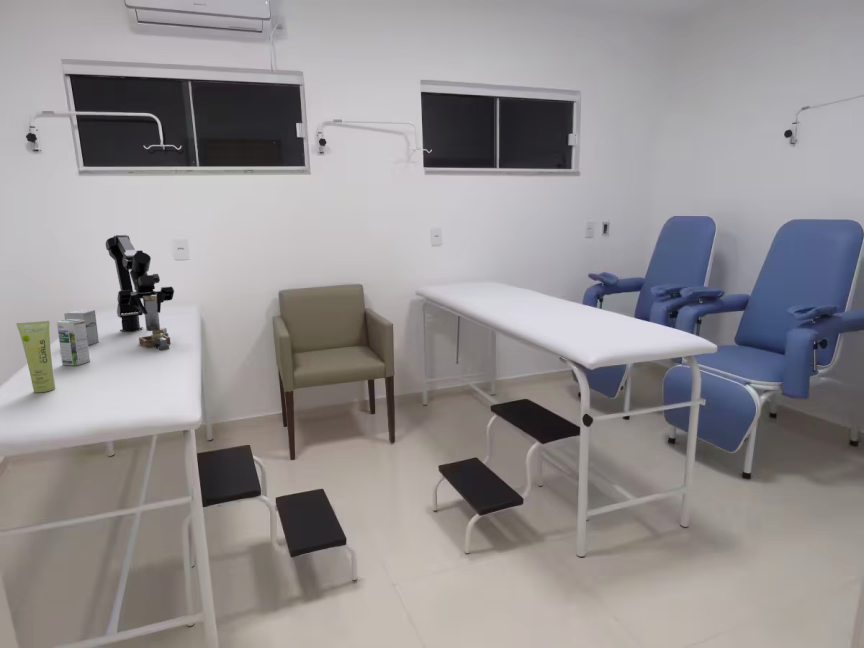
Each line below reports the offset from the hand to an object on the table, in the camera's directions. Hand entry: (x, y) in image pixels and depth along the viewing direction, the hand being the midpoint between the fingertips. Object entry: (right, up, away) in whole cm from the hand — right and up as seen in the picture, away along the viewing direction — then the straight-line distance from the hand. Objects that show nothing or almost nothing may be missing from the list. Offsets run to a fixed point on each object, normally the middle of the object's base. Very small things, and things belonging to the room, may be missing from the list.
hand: (152, 313), depth 200 cm
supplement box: (-28, -12, +4) cm, 31 cm away
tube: (-4, -23, -51) cm, 56 cm away
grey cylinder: (-1, -6, +2) cm, 7 cm away
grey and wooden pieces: (+1, -11, +5) cm, 12 cm away
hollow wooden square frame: (-1, -12, +3) cm, 12 cm away
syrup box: (-13, -17, -23) cm, 32 cm away
